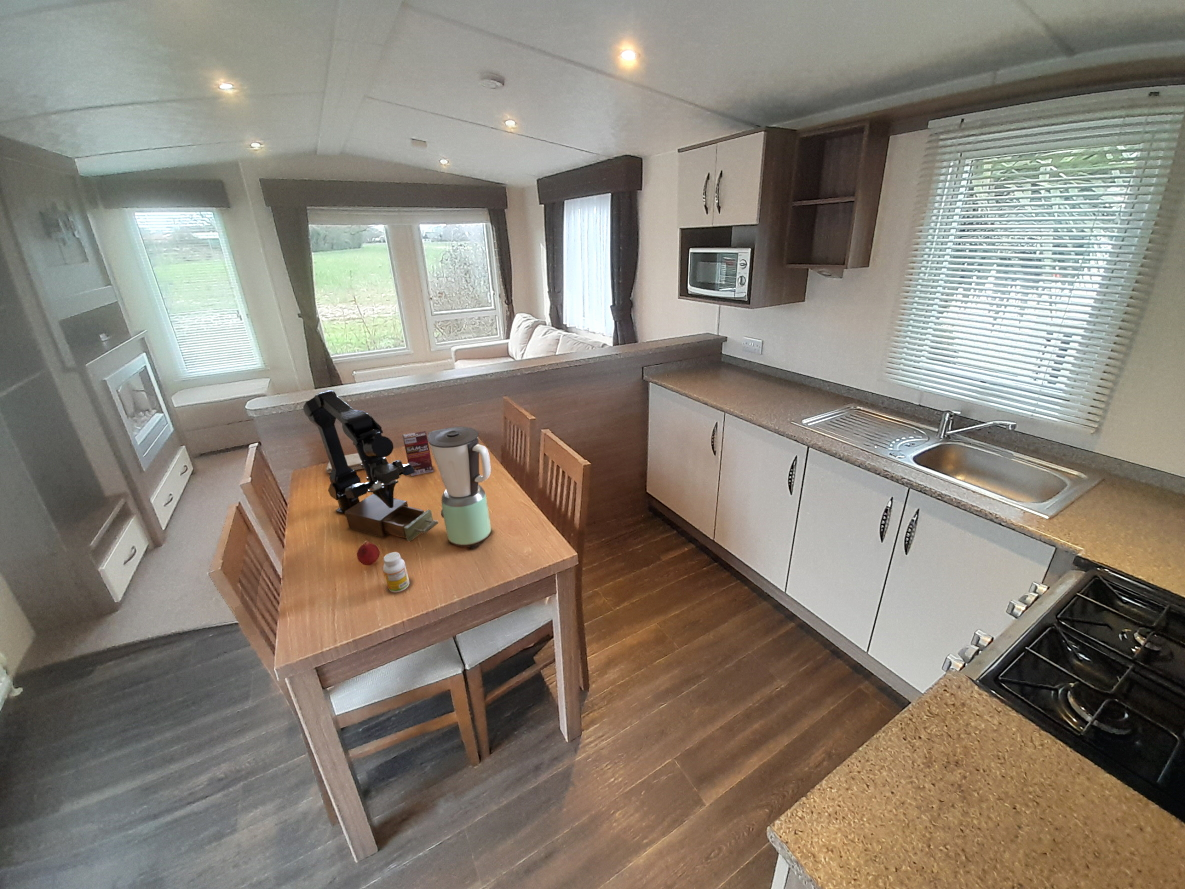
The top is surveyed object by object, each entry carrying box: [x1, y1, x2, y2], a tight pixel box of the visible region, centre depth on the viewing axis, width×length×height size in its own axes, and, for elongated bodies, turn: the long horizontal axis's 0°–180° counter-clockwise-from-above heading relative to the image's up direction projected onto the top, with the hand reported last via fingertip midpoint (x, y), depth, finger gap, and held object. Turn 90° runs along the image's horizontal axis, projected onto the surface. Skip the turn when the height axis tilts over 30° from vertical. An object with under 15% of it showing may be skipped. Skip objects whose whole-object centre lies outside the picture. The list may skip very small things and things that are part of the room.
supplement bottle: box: [382, 551, 410, 593], centre depth 125 cm, size 5×5×10 cm
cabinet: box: [344, 493, 409, 539], centre depth 153 cm, size 14×12×6 cm
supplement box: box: [402, 430, 434, 477], centre depth 183 cm, size 9×5×16 cm, turn 113°
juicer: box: [427, 426, 492, 550], centre depth 138 cm, size 19×13×35 cm
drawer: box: [381, 505, 439, 542], centre depth 148 cm, size 18×11×5 cm, turn 67°
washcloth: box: [325, 452, 364, 474], centre depth 192 cm, size 12×18×3 cm, turn 110°
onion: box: [356, 540, 381, 566], centre depth 134 cm, size 6×6×8 cm
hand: (391, 507), depth 138 cm, fingers closed
